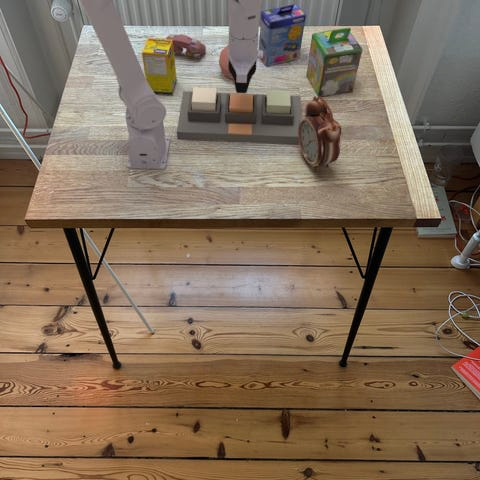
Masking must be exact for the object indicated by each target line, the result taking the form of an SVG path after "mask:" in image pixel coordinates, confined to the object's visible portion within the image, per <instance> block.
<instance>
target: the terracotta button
mask: <svg viewBox="0 0 480 480" xmlns="http://www.w3.org/2000/svg"><path fill="white" fill-rule="evenodd" d="M250 94H251V93H239V94H230V105H229V112H244V113H252V111H253V95H250Z"/></svg>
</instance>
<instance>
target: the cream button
mask: <svg viewBox="0 0 480 480" xmlns="http://www.w3.org/2000/svg"><path fill="white" fill-rule="evenodd" d="M217 90H218V89H217V88H216V87H195V86H194V87H193V89H192V92H193V96H192V110H196V111H216V102H217V93H218V91H217Z"/></svg>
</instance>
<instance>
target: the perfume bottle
mask: <svg viewBox="0 0 480 480" xmlns="http://www.w3.org/2000/svg"><path fill="white" fill-rule="evenodd" d="M228 49H229V43H228V44H227V45H226V46H224V48H222V49H221V51H220V53H219V58H218V63H219V64H218V65H219V67H220V71H221V73H222V75H224V76H225V77H227V78H230V79H233V77H232V75H231V73H230V72H229V69H228V64H229V58H228Z"/></svg>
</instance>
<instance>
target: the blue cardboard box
mask: <svg viewBox="0 0 480 480" xmlns="http://www.w3.org/2000/svg"><path fill="white" fill-rule="evenodd" d="M306 18H307V14H306V13H305V11H304V10H303V9H302V8H301V7H300V6H299V5H298V4H297V3H291V4H289V5H284V6H283V5H282V6H281V7H277V8H276V7H273V8H269V9H265V10H261V11H260V24H259V37H258V50H262V51H263V58H262V59H260V60H261V62H262V63H263V65H264V66H265V67H270V66H274V65H278V64H282V63H286V62H287V63H288V62H290V61H295V60H299V59H300V56H301V55H300V54H301V49H302V43H303V42H302V41H303V36H304V30H305V25H306Z"/></svg>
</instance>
